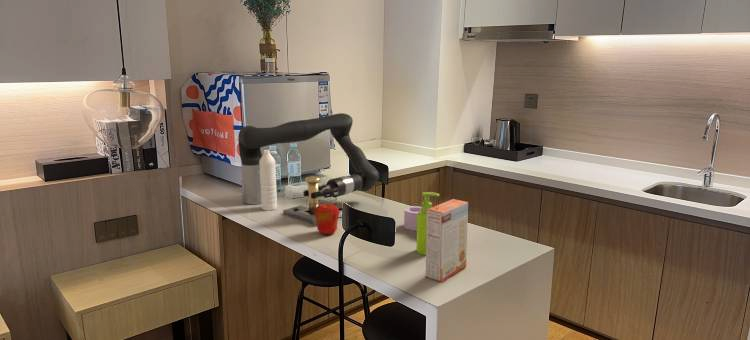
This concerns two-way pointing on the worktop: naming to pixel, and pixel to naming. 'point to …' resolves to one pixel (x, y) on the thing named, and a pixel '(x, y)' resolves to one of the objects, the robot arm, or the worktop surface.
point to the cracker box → (446, 239)
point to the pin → (312, 188)
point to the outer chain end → (307, 215)
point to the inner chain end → (293, 213)
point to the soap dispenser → (423, 222)
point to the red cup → (327, 218)
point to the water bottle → (268, 181)
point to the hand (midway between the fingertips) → (307, 194)
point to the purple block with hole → (411, 217)
